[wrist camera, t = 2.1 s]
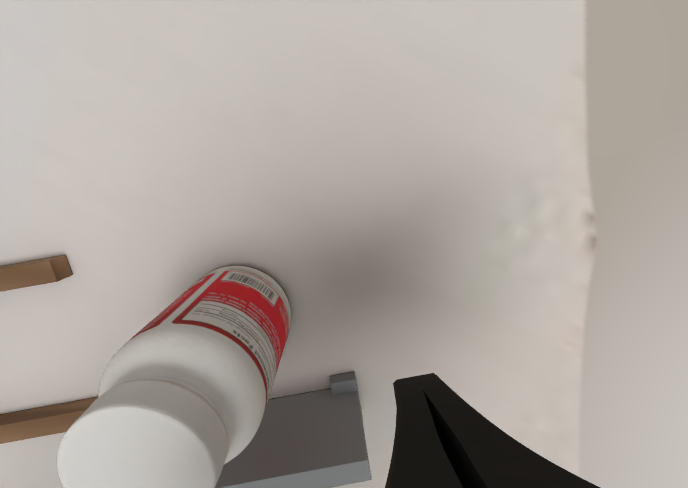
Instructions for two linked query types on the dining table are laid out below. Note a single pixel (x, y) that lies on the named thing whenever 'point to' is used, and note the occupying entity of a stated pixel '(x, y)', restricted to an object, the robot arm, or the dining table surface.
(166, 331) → the pill bottle
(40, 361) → the dining table surface
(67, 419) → the walnut bracket
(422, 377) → the robot arm
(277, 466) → the slate screen
